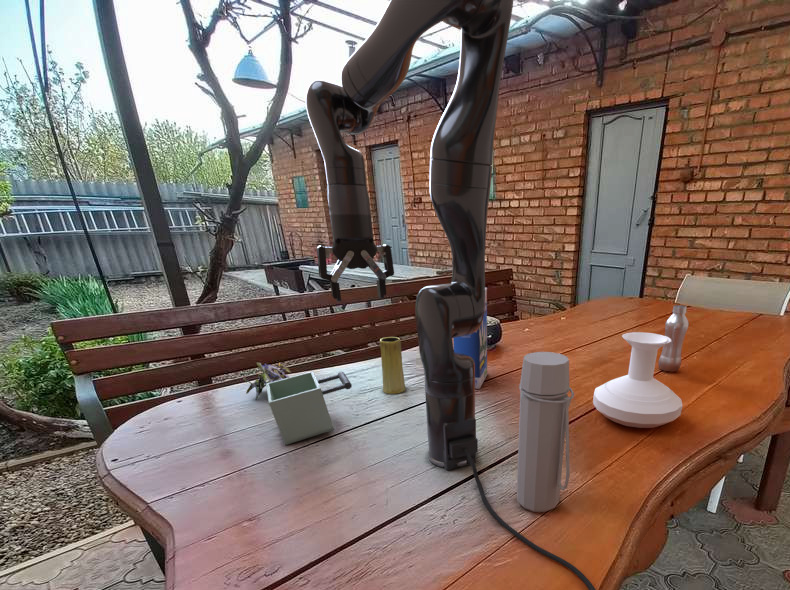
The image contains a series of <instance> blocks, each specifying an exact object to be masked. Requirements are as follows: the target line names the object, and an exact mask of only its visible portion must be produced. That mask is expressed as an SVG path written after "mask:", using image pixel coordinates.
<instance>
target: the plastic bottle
mask: <svg viewBox="0 0 790 590" xmlns="http://www.w3.org/2000/svg"><path fill="white" fill-rule="evenodd" d="M687 308H688V307H687V305H682V304H677V305H676V304H675V305H673V306H672V311H671V312H672V314H671V315H670V316H669V317H668V318H667V320H666V322H665V325H664V336H667V337H669V338H670V339H671V342H669V343H668V344H666V345H664V346H662V350H661V353H660V356H659V359H658V361H657V362H658V368H659V370H661V371H664V372H677V371H679V370H680V368H681V365H682V353H683V352H682V351H683V345H684V341H685V337H686V334H687V331H688V328H689V325H690V324H689V320H688V317H687V316H686V314H687Z"/></svg>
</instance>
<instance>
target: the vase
mask: <svg viewBox="0 0 790 590" xmlns="http://www.w3.org/2000/svg"><path fill="white" fill-rule="evenodd" d="M401 341H402V340H401V338H399V337H397V336H387V337H382V338H380V339H379V348H380V359H381V374H382V391H383V392H384V393H386V394H388V395H395V394H396V395H397V394H400V393H404V392H405V391H406V390H407V389H406V382H405V374H404V366H403V356H402V355H403V354H402V353H403V352H402V342H401Z"/></svg>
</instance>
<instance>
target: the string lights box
mask: <svg viewBox="0 0 790 590" xmlns="http://www.w3.org/2000/svg"><path fill="white" fill-rule="evenodd" d="M452 341H453V349H454V352H457V353H462V354H465V355H468V356H470V357H471V358H472V359H473V360H474V363H475V390H480V389H481V387H482V385H483V383H484V381H485V380H486V377H487V376H488V287H485V310H484V317H483V321H482V324H481V326H480V327H479V329H478V330H477V331H476V332H474V333H472V334H469V335H465V336H460V337H456V338H452Z"/></svg>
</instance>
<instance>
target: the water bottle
mask: <svg viewBox="0 0 790 590" xmlns="http://www.w3.org/2000/svg"><path fill="white" fill-rule="evenodd" d="M518 388H519V391H520V393H519V421H518V449H517V474H516V475H517V477H516V478H517V479H516V501H517V503H518V504H520V505H521V507H522V508H523V509H525V510H527V511H530V512H533V513H545V512H548V511H551V510H553V509H555V508H556V507H557V505H558V504H559V502H560V497H561V490H562V491H566V490H567V488H568V485H569V481H570V476H571V474H570V473H571V471H570V469H571V467H570V421H569V418H570V417H569V416H570V415H569V408H570V405H571V402H572V399H574V397H575V392H574V390H573V389H572V388H571V387H570V359H569V358H568V356H567V355H564V354H563V353H558V352H552V351H536V352H530V353H529V352H528V353H527V354H525V355H524V356H523V359H522V366H521V374H520V382H519V385H518ZM569 392H570V394H571V396H569V395H568V393H569ZM564 449H565V450H564ZM564 451H565V480H564V486H562V476H563V475H562V473H563V462H564Z"/></svg>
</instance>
